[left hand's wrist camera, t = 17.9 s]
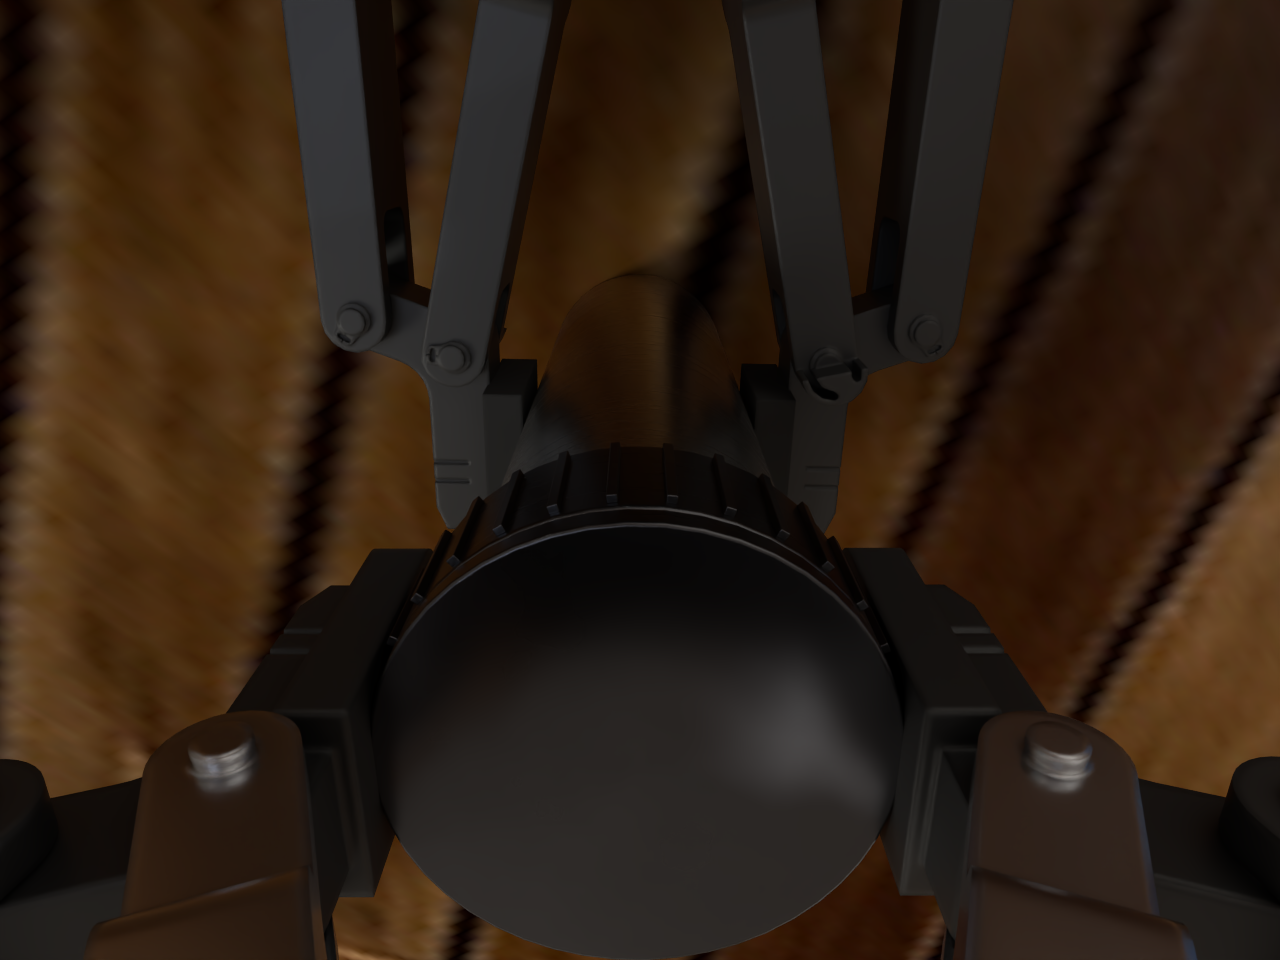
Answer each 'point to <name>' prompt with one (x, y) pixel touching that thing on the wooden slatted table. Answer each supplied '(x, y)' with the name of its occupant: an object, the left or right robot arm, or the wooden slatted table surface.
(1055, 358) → the wooden slatted table surface
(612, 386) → the jar
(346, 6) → the right robot arm
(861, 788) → the lid
